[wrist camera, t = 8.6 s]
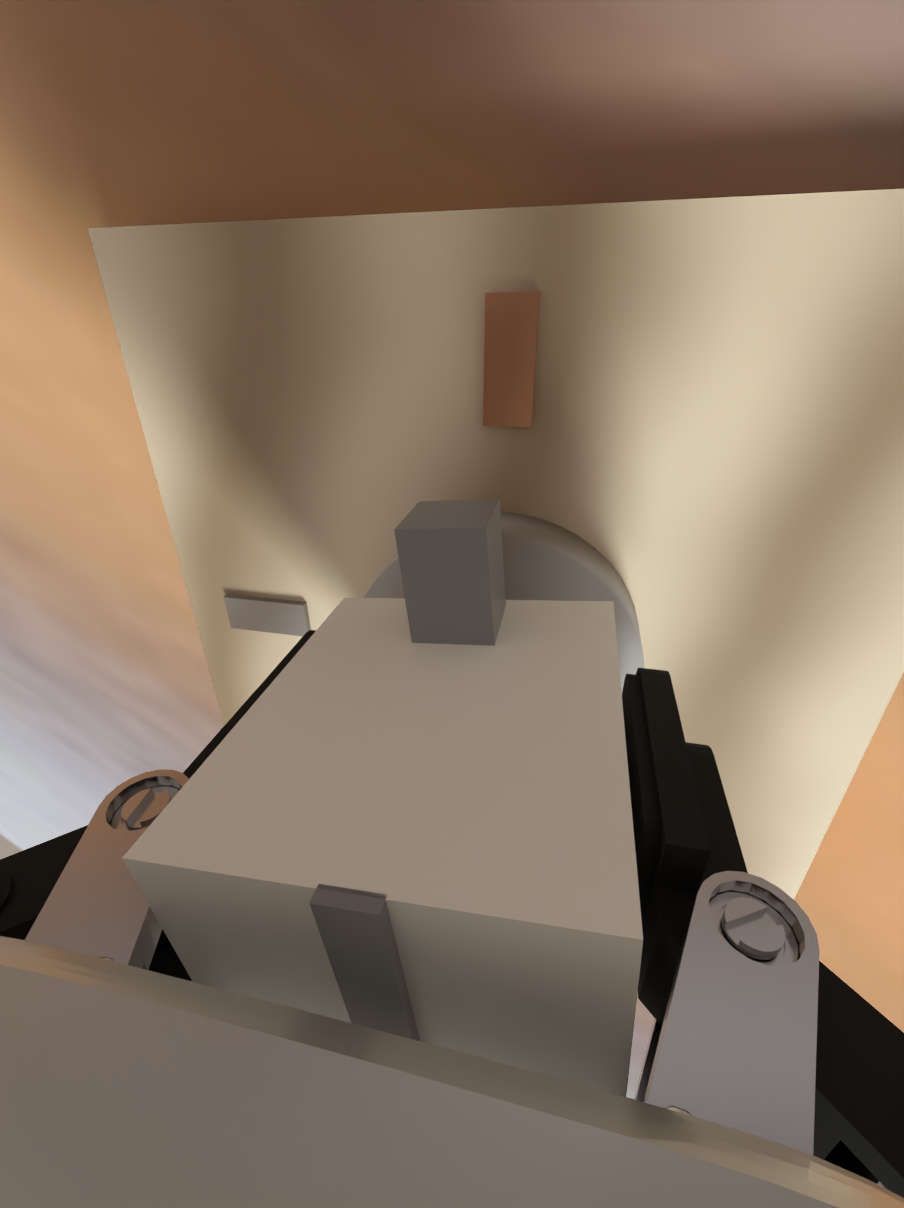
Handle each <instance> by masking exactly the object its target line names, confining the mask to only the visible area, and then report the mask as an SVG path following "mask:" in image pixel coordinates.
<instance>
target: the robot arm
mask: <svg viewBox="0 0 904 1208" xmlns="http://www.w3.org/2000/svg"><path fill="white" fill-rule="evenodd" d="M315 631H316V630H309V631H308V632H306V633H305V634H304V636H303V637H302V638H301V639H300V640H299V641H298V643H297V644H296V645H295V646H294V647H293V648H292V649H291V651H290V652H289V653H288V654H287V655H286V656H285V657H284V659H283V660H282V661H281V662H280V663H279V664H278V665H277V667H276V668H275V669H274V670H273V671H272V672H271V673H270V675H269V676H268V677H267V678H266V679H265V680H264V681H263V683H262V684H261V685H260V686H259V687H258V688H257V689H256V690H255V691H254V693H253V694H252V695H251V696H250V697H249V698H248V699H247V701H246V702H245V703H244V704H243V705H242V706H241V707H240V709H239V710H238V711H237V712H236V713H235V714H234V715H233V717H232V718H231V719H230V720H229V721H228V722H227V723H226V725H225V726H224V727H223V728H222V729H221V730H220V731H219V733H218V734H217V735H216V736H215V737H214V738H213V739H212V741H211V742H210V743H209V744H208V745H207V746H206V747H205V749H204V750H203V751H202V752H201V753H200V754H199V755H198V757H197V758H196V759H195V760H194V761H193V762H192V763H191V765H190V766H189V767H188V768H187V769H186V770H185V771H184V773H181V772H178V771H175V770H155V771H150V772H145V773H143V774H140V775H138V776H135V777H133V778H131V779H129V780H127V781H126V782H124V783H122V784H120V785H119V786H117V787H116V788H115V789H114V790H113V791H112V792H110V793H109V794H108V795H107V796H106V797H105V799H104V800H103V801H102V803H101V804H100V805H99V807H98V808H97V810H96V812H95V814H94V816H93V818H92V819H91V821H90V823H89V825H87V826H85V827H82V828H80V829H77V830H75V831H72V832H70V833H67V834H64V835H62V836H59V837H57V838H54V839H52V840H49V841H47V842H44V843H42V844H39V845H36V846H34V847H31V848H29V849H26V850H24V851H21V852H19V853H16V854H14V855H11V856H9V857H6V858H4V859H1V860H0V1208H904V1033H903V1032H902V1031H901V1030H900V1029H898V1028H897V1027H896V1026H895V1025H894V1024H893V1023H891V1022H890V1021H889V1020H888V1019H887V1018H885V1017H884V1016H883V1015H882V1014H881V1013H880V1012H878V1011H877V1010H876V1009H875V1008H874V1007H873V1006H871V1005H870V1004H869V1003H868V1002H867V1001H866V1000H864V999H863V998H862V997H861V996H860V995H859V994H857V993H856V992H855V991H854V990H853V989H852V988H850V987H849V986H848V985H847V984H846V983H845V982H843V981H842V980H841V979H840V978H839V977H838V976H836V975H835V974H834V973H833V972H832V971H830V970H829V969H828V968H827V967H826V966H825V965H823V964H822V963H821V962H820V961H819V945H818V939H817V934H816V932H815V930H814V928H813V926H812V924H811V922H810V920H809V918H808V916H807V915H806V914H805V912H804V911H803V910H802V909H801V908H800V906H799V905H798V904H797V903H796V901H795V900H793V899H792V898H791V897H790V896H789V895H787V894H786V893H785V892H784V891H783V890H781V889H780V888H779V887H777V886H775V885H774V884H772V883H770V882H768V881H767V880H765V879H763V878H761V877H758V876H755V875H752V874H749V873H748V872H747V868H746V865H745V861H744V858H743V854H742V851H741V847H740V844H739V840H738V837H737V834H736V830H735V827H734V823H733V820H732V816H731V813H730V809H729V806H728V802H727V799H726V795H725V792H724V788H723V785H722V781H721V778H720V774H719V771H718V768H717V764H716V761H715V757H714V754H713V752H712V749H711V748H710V747H709V746H708V745H702V744H695V743H688V742H685V737H684V733H683V729H682V724H681V720H680V716H679V711H678V707H677V703H676V698H675V694H674V690H673V685H672V681H671V677H670V673H669V671H664V670H656V669H647V668H638V669H637V672H636V675H635V674H626V676H625V680H624V685H623V691H622V704H623V715H624V727H625V738H626V749H627V761H628V772H629V784H630V795H631V806H632V818H633V829H634V840H635V852H636V863H637V874H638V886H639V897H640V908H641V920H642V931H643V947H642V956H641V965H640V974H639V983H638V998H639V1000H640V1001H641V1002H642V1003H643V1004H644V1006H645V1007H646V1008H647V1009H648V1010H649V1012H650V1013H651V1014H652V1015H653V1016H654V1017H655V1020H654V1024H653V1028H652V1032H651V1035H650V1039H649V1043H648V1047H647V1051H646V1055H645V1059H644V1062H643V1066H642V1070H641V1074H640V1078H639V1082H638V1086H637V1089H636V1093H635V1097H634V1099H630V1098H627V1097H623V1096H620V1095H617V1094H613V1093H610V1092H606V1091H602V1090H598V1089H595V1088H591V1087H587V1086H584V1085H580V1084H576V1083H573V1082H569V1081H565V1080H561V1079H558V1078H554V1077H550V1076H547V1075H543V1074H539V1073H535V1072H532V1071H528V1070H524V1069H521V1068H517V1067H513V1066H509V1065H506V1064H502V1063H498V1062H495V1061H491V1060H487V1059H483V1058H480V1057H476V1056H472V1055H469V1054H465V1053H461V1052H458V1051H454V1050H450V1049H446V1048H443V1047H439V1046H435V1045H432V1044H428V1043H424V1042H420V1041H416V1040H413V1039H409V1038H405V1037H401V1036H398V1035H394V1034H390V1033H386V1032H382V1031H379V1030H375V1029H371V1028H367V1027H364V1026H360V1025H356V1024H352V1023H348V1022H345V1021H341V1020H337V1019H333V1018H329V1017H326V1016H322V1015H318V1014H314V1013H310V1012H307V1011H303V1010H299V1009H295V1008H291V1007H288V1006H284V1005H280V1004H276V1003H272V1002H269V1001H265V1000H261V999H257V998H253V997H250V996H246V995H242V994H238V993H234V992H230V991H227V990H223V989H219V988H215V987H211V986H207V985H203V984H199V983H195V982H193V981H192V980H191V978H190V976H189V974H188V973H187V971H186V969H185V967H184V966H183V964H182V962H181V960H180V959H179V957H178V955H177V953H176V952H175V950H174V948H173V946H172V945H171V943H170V941H169V939H168V938H167V936H166V934H165V932H164V931H163V929H162V927H161V925H160V924H159V922H158V920H157V918H156V917H155V915H154V913H153V911H152V910H151V908H150V906H149V904H148V903H147V901H146V899H145V897H144V896H143V894H142V892H141V890H140V889H139V887H138V885H137V883H136V882H135V880H134V878H133V876H132V875H131V873H130V871H129V869H128V868H127V866H126V864H125V862H124V861H123V859H122V857H123V856H124V855H125V854H126V853H127V852H128V850H129V849H130V848H131V847H132V846H133V845H134V843H135V842H136V841H137V840H138V839H139V838H140V836H141V835H142V834H143V833H144V832H145V830H146V829H147V828H148V827H149V826H150V825H151V823H152V822H153V821H154V820H155V819H156V818H157V816H158V815H159V814H160V813H161V812H162V811H163V809H164V808H165V807H166V806H167V805H168V804H169V802H170V801H171V800H172V799H173V798H174V797H175V795H176V794H177V793H178V792H179V791H180V789H181V788H182V787H183V786H184V785H185V784H186V782H187V781H188V780H189V779H190V778H191V777H192V775H193V774H194V773H195V772H196V771H197V770H198V768H199V767H200V766H201V765H202V764H203V763H204V761H205V760H206V759H207V758H208V757H209V756H210V754H211V753H212V752H213V751H214V750H215V749H216V747H217V746H218V745H219V744H220V743H221V741H222V740H223V739H224V738H225V737H226V736H227V734H228V733H229V732H230V731H231V730H232V729H233V727H234V726H235V725H236V724H237V723H238V722H239V720H240V719H241V718H242V717H243V716H244V715H245V713H246V712H247V711H248V710H249V709H250V708H251V706H252V705H253V704H254V703H255V702H256V700H257V699H258V698H259V697H260V696H261V695H262V693H263V692H264V691H265V690H266V689H267V688H268V686H269V685H270V684H271V683H272V682H273V681H274V679H275V678H276V677H277V676H278V675H279V674H280V672H281V671H282V670H283V669H284V668H285V667H286V665H287V664H288V663H289V662H290V661H291V659H292V658H293V657H294V656H295V655H296V654H297V652H298V651H299V650H300V649H301V648H302V647H303V645H304V644H305V643H306V642H307V641H308V640H309V638H310V637H311V636H312V635H313V634H314V633H315Z"/></svg>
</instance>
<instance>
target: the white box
mask: <svg viewBox="0 0 904 1208" xmlns="http://www.w3.org/2000/svg"><path fill="white" fill-rule="evenodd" d="M394 532H395V538H396V545H397V551H398V558H399V564H400V570H401V577H402V583H403V590H404V596H405V598H344V599H343V600H342V601H341V602H340V603H339V604H338V606H337V607H336V608H335V609H334V610H333V611H332V613H331V614H330V615H329V616H328V617H327V619H326V620H325V621H324V622H323V623H322V624H321V626H320V627H319V628H318V629H317V630H316V631H315V633H314V634H313V635H312V636H311V637H310V638H309V640H308V641H307V642H306V643H305V644H304V645H303V647H302V648H301V649H300V650H299V651H298V652H297V654H296V655H295V656H294V657H293V658H292V659H291V661H290V662H289V663H288V664H287V665H286V667H285V668H284V669H283V670H282V671H281V672H280V674H279V675H278V676H277V677H276V678H275V679H274V681H273V682H272V683H271V684H270V685H269V686H268V688H267V689H266V690H265V691H264V692H263V693H262V695H261V696H260V697H259V698H258V699H257V700H256V702H255V703H254V704H253V705H252V706H251V708H250V709H249V710H248V711H247V712H246V713H245V715H244V716H243V717H242V718H241V719H240V720H239V722H238V723H237V724H236V725H235V726H234V727H233V729H232V730H231V731H230V732H229V733H228V734H227V736H226V737H225V738H224V739H223V740H222V741H221V743H220V744H219V745H218V746H217V747H216V749H215V750H214V751H213V752H212V753H211V754H210V756H209V757H208V758H207V759H206V760H205V761H204V763H203V764H202V765H201V766H200V767H199V768H198V770H197V771H196V772H195V773H194V774H193V775H192V777H191V778H190V779H189V780H188V781H187V782H186V784H185V785H184V786H183V787H182V788H181V789H180V791H179V792H178V793H177V794H176V795H175V797H174V798H173V799H172V800H171V801H170V802H169V804H168V805H167V806H166V807H165V808H164V809H163V811H162V812H161V813H160V814H159V815H158V816H157V818H156V819H155V820H154V821H153V822H152V823H151V825H150V826H149V827H148V828H147V829H146V830H145V832H144V833H143V834H142V835H141V836H140V838H139V839H138V840H137V841H136V842H135V843H134V845H133V846H132V847H131V848H130V849H129V850H128V852H127V853H126V854H125V855H124V856H123V857H122V859H123V861H124V862H125V864H126V866H127V868H128V869H129V871H130V873H131V875H132V876H133V878H134V880H135V882H136V883H137V885H138V887H139V889H140V890H141V892H142V894H143V896H144V897H145V899H146V901H147V903H148V904H149V906H150V908H151V910H152V911H153V913H154V915H155V917H156V918H157V920H158V922H159V924H160V925H161V927H162V929H163V931H164V932H165V934H166V936H167V938H168V939H169V941H170V943H171V945H172V946H173V948H174V950H175V952H176V953H177V955H178V957H179V959H180V960H181V962H182V964H183V966H184V967H185V969H186V971H187V973H188V974H189V976H190V978H191V980H192V981H193V982H195V983H199V984H203V985H207V986H211V987H215V988H219V989H223V990H227V991H230V992H234V993H238V994H242V995H246V996H250V997H253V998H257V999H261V1000H265V1001H269V1002H272V1003H276V1004H280V1005H284V1006H288V1007H291V1008H295V1009H299V1010H303V1011H307V1012H310V1013H314V1014H318V1015H322V1016H326V1017H329V1018H333V1019H337V1020H341V1021H345V1022H348V1023H352V1024H356V1025H360V1026H364V1027H367V1028H371V1029H375V1030H379V1031H382V1032H386V1033H390V1034H394V1035H398V1036H401V1037H405V1038H409V1039H413V1040H416V1041H420V1042H424V1043H428V1044H432V1045H435V1046H439V1047H443V1048H446V1049H450V1050H454V1051H458V1052H461V1053H465V1054H469V1055H472V1056H476V1057H480V1058H483V1059H487V1060H491V1061H495V1062H498V1063H502V1064H506V1065H509V1066H513V1067H517V1068H521V1069H524V1070H528V1071H532V1072H535V1073H539V1074H543V1075H547V1076H550V1077H554V1078H558V1079H561V1080H565V1081H569V1082H573V1083H576V1084H580V1085H584V1086H587V1087H591V1088H595V1089H598V1090H602V1091H606V1092H610V1093H613V1094H617V1095H620V1096H623V1097H626V1092H627V1083H628V1074H629V1065H630V1056H631V1046H632V1037H633V1028H634V1019H635V1010H636V1001H637V992H638V983H639V974H640V965H641V956H642V947H643V931H642V920H641V908H640V897H639V886H638V874H637V863H636V852H635V840H634V829H633V818H632V806H631V795H630V784H629V772H628V761H627V749H626V738H625V727H624V715H623V704H622V693H621V681H620V670H619V659H618V647H617V636H616V625H615V613H614V602H613V601H553V600H506V597H505V580H504V563H503V546H502V529H501V512H500V499H478V500H446V501H419V502H418V503H417V505H416V506H415V507H414V508H413V509H412V510H411V511H410V512H409V513H408V515H407V516H406V517H405V518H404V519H403V520H402V521H401V522H400V524H399V525H398V526H397V527H396V528H395V529H394Z"/></svg>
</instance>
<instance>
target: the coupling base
mask: <svg viewBox="0 0 904 1208" xmlns="http://www.w3.org/2000/svg"><path fill="white" fill-rule="evenodd" d="M88 232H89V236H90V239H91V243H92V246H93V250H94V254H95V257H96V261H97V265H98V268H99V272H100V276H101V279H102V283H103V286H104V290H105V294H106V297H107V301H108V305H109V308H110V312H111V315H112V319H113V323H114V326H115V330H116V334H117V337H118V341H119V344H120V348H121V352H122V355H123V359H124V363H125V366H126V370H127V374H128V377H129V381H130V384H131V388H132V392H133V395H134V399H135V403H136V406H137V410H138V413H139V417H140V421H141V424H142V428H143V432H144V435H145V439H146V443H147V446H148V450H149V453H150V457H151V461H152V464H153V468H154V472H155V475H156V479H157V482H158V486H159V490H160V493H161V497H162V501H163V504H164V508H165V511H166V515H167V519H168V522H169V526H170V530H171V533H172V537H173V541H174V544H175V548H176V551H177V555H178V559H179V562H180V566H181V570H182V573H183V577H184V580H185V584H186V588H187V591H188V595H189V599H190V602H191V606H192V610H193V613H194V617H195V620H196V624H197V628H198V631H199V635H200V639H201V642H202V646H203V649H204V653H205V657H206V660H207V664H208V668H209V671H210V675H211V678H212V682H213V686H214V689H215V693H216V697H217V700H218V704H219V708H220V711H221V715H222V718H223V722H224V726H225V725H226V723H227V722H228V721H229V720H230V719H231V718H232V717H233V715H234V714H235V713H236V712H237V711H238V710H239V709H240V707H241V706H242V705H243V704H244V703H245V702H246V701H247V699H248V698H249V697H250V696H251V695H252V694H253V693H254V691H255V690H256V689H257V688H258V687H259V686H260V685H261V684H262V683H263V681H264V680H265V679H266V678H267V677H268V676H269V675H270V673H271V672H272V671H273V670H274V669H275V668H276V667H277V665H278V664H279V663H280V662H281V661H282V660H283V659H284V657H285V656H286V655H287V654H288V653H289V652H290V651H291V649H292V648H293V647H294V646H295V645H296V644H297V643H298V641H299V640H300V639H301V638H302V637H303V636H304V634H305V633H306V632H308V631H309V630H317V629H318V628H319V627H320V626H321V624H322V623H323V622H324V621H325V620H326V619H327V617H328V616H329V615H330V614H331V613H332V611H333V610H334V609H335V608H336V607H337V606H338V604H339V603H340V602H341V601H342V600H343V599H344V598H405V596H404V590H403V583H402V577H401V570H400V564H399V558H398V551H397V545H396V538H395V532H394V529H395V528H396V527H397V526H398V525H399V524H400V522H401V521H402V520H403V519H404V518H405V517H406V516H407V515H408V513H409V512H410V511H411V510H412V509H413V508H414V507H415V506H416V505H417V503H418V502H419V501H446V500H478V499H500V512H501V529H502V546H503V563H504V580H505V597H506V600H553V601H613V602H614V613H615V625H616V636H617V647H618V659H619V670H620V681H621V693H622V691H623V685H624V680H625V676H626V674H635V675H636V672H637V669H638V668H647V669H656V670H664V671H669V673H670V677H671V681H672V685H673V690H674V694H675V698H676V703H677V707H678V711H679V716H680V720H681V724H682V729H683V733H684V737H685V742H688V743H695V744H702V745H708V746H709V747H710V748H711V749H712V752H713V754H714V757H715V761H716V764H717V768H718V771H719V774H720V778H721V781H722V785H723V788H724V792H725V795H726V799H727V802H728V806H729V809H730V813H731V816H732V820H733V823H734V827H735V830H736V834H737V837H738V840H739V844H740V847H741V851H742V854H743V858H744V861H745V865H746V868H747V872H748V873H749V874H752V875H755V876H758V877H761V878H763V879H765V880H767V881H768V882H770V883H772V884H774V885H775V886H777V887H779V888H780V889H781V890H783V891H784V892H785V893H786V894H787V895H789V896H790V897H791V898H792V899H793V900H794V898H795V896H796V894H797V892H798V890H799V888H800V885H801V883H802V881H803V879H804V877H805V875H806V873H807V871H808V869H809V867H810V865H811V863H812V861H813V859H814V856H815V854H816V852H817V850H818V848H819V846H820V844H821V842H822V840H823V838H824V836H825V834H826V832H827V830H828V827H829V825H830V823H831V821H832V819H833V817H834V815H835V813H836V811H837V809H838V807H839V805H840V803H841V801H842V798H843V796H844V794H845V792H846V790H847V788H848V786H849V784H850V782H851V780H852V778H853V776H854V774H855V772H856V769H857V767H858V765H859V763H860V761H861V759H862V757H863V755H864V753H865V751H866V749H867V747H868V745H869V743H870V740H871V738H872V736H873V734H874V732H875V730H876V728H877V726H878V724H879V722H880V720H881V718H882V716H883V714H884V711H885V709H886V707H887V705H888V703H889V701H890V699H891V697H892V695H893V693H894V691H895V689H896V687H897V685H898V682H899V680H900V678H901V676H902V674H903V672H904V189H885V190H864V191H843V192H823V193H802V194H782V195H761V196H741V197H720V198H699V199H679V200H658V201H638V202H617V203H597V204H576V205H556V206H535V207H514V208H494V209H473V210H453V211H432V212H412V213H391V214H370V215H350V216H329V217H309V218H288V219H268V220H247V221H226V222H206V223H185V224H165V225H144V226H124V227H103V228H88Z"/></svg>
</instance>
